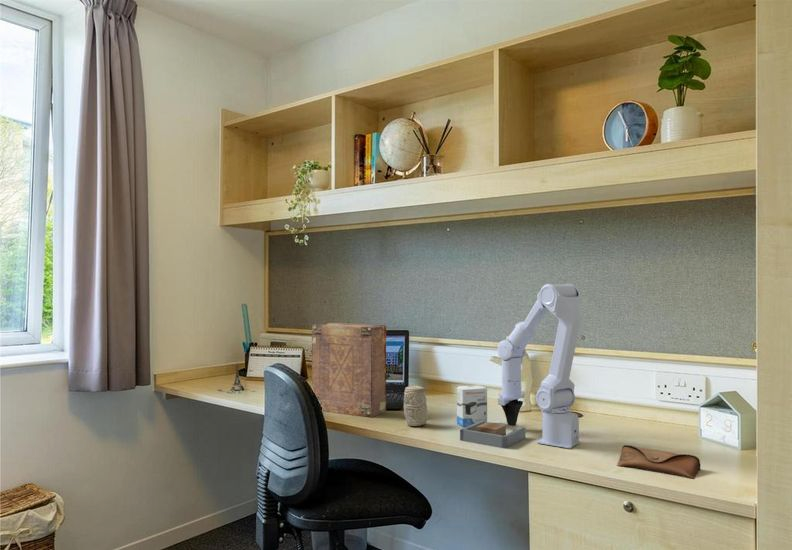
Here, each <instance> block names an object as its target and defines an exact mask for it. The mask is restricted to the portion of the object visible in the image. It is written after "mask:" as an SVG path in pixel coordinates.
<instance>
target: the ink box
mask: <svg viewBox="0 0 792 550" xmlns="http://www.w3.org/2000/svg"><path fill="white" fill-rule="evenodd" d="M480 421H485V423H487V422H488V388H487V387H485V386H483V385H459V386H458V387H456V424H458V426H461V427H462V428H465V427H467V426H470V425H472V424H475V423H477V422H480Z"/></svg>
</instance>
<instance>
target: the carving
mask: <svg viewBox="0 0 792 550" xmlns="http://www.w3.org/2000/svg"><path fill="white" fill-rule="evenodd" d="M403 394H404V395H403V412H404V418H405V421H406V425H407V426H409V427H419V426H423V425H425V424H426V423H427V421H428V405H427V395H426V389H425V387H423V386H420V385H410V386H406V387H405V388H404V392H403Z"/></svg>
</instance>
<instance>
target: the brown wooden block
mask: <svg viewBox="0 0 792 550" xmlns="http://www.w3.org/2000/svg"><path fill="white" fill-rule="evenodd" d="M477 431H478V432H484V433H490V434H496V435H502V436H504V435H506V434H507V425H506V424H502V423H501V424H498V423H493V422H488V421H487V423H484V424H482V425H479V426H477Z"/></svg>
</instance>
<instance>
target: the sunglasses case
mask: <svg viewBox="0 0 792 550" xmlns="http://www.w3.org/2000/svg"><path fill="white" fill-rule="evenodd" d="M620 452H621V453H620V456H619V460H618V462H617V465H616V467H621V468H626V469H627V468H628V469H634V470H642V471H647V472H651V473H652V472H653V473H660V474H665V475H670V476H675V477H676V476H677V477H680V478H681V477H682V478H686V479H692V480H693V479H694V480H695V479H696V476H697V475H698V473H699V472H700V471H701V462H700V461H701V460H700V458H699V457H698V456H695V455H694V454H693V455H692V454H687V453H685V454H684V453H683V454H682V453H681V454H680V453H674V452H670V451H669V452H667V451H663V450H656V449H647V448H642V447H641V448H640V447H637V446H633V445H628V444H626V445H625V444H624V445H623V446H622V448H621V451H620Z"/></svg>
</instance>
